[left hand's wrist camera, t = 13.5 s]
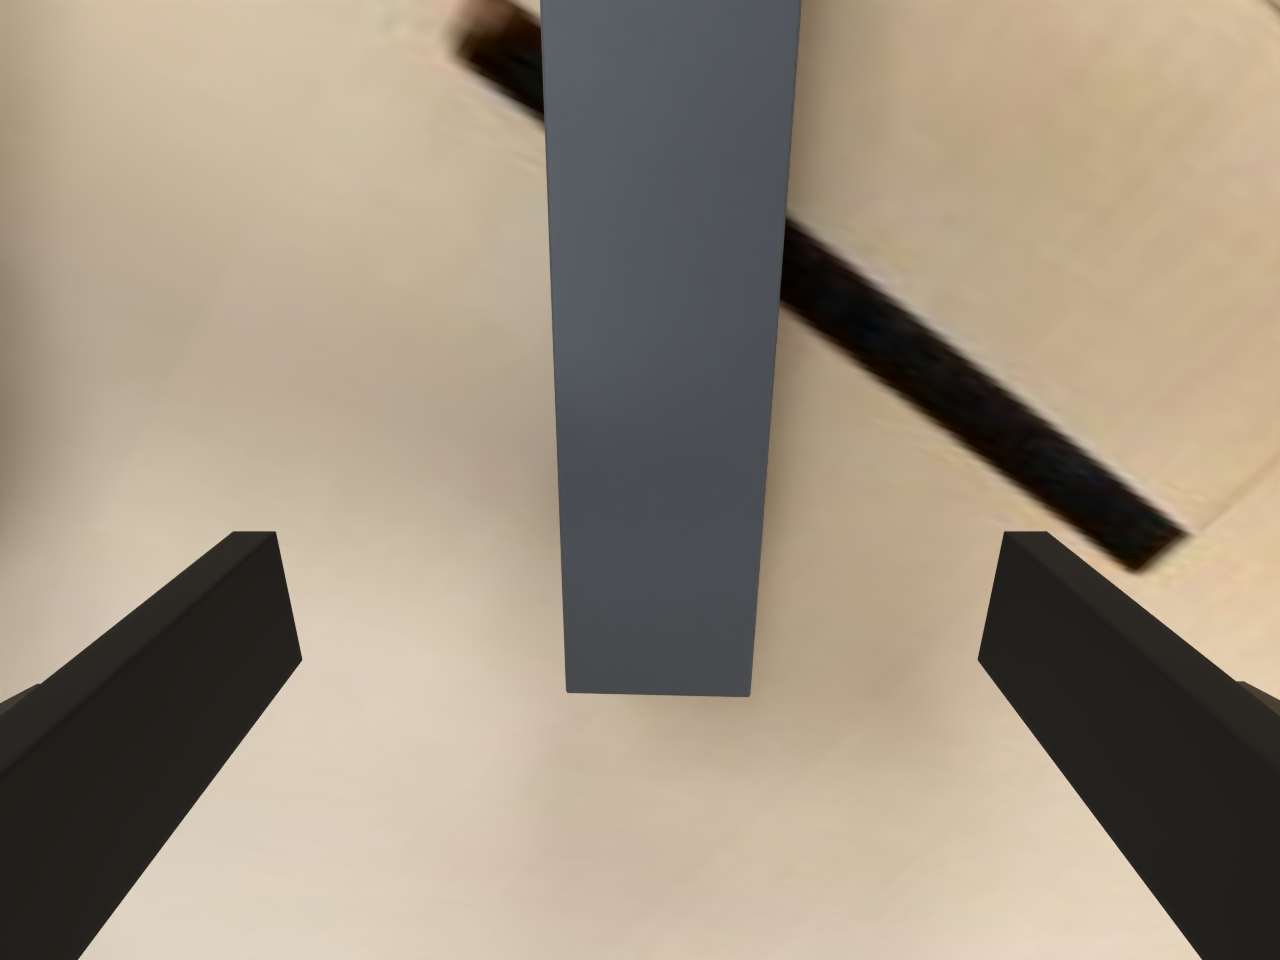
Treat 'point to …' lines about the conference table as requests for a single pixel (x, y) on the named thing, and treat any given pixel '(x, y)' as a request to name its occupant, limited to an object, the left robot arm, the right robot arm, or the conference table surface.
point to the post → (664, 327)
